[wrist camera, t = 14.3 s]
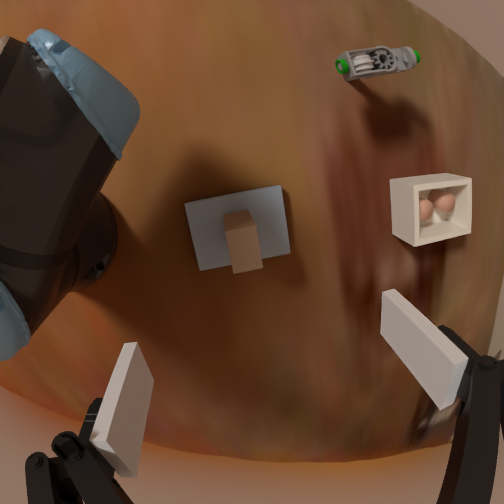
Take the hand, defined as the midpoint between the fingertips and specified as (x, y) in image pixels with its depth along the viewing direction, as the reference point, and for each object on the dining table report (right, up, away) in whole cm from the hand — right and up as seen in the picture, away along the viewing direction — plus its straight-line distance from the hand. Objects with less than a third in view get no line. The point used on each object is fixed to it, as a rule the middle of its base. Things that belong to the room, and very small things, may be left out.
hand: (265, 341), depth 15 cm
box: (+24, +12, +25) cm, 37 cm away
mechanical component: (+12, +27, +19) cm, 35 cm away
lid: (-2, +8, +23) cm, 25 cm away
